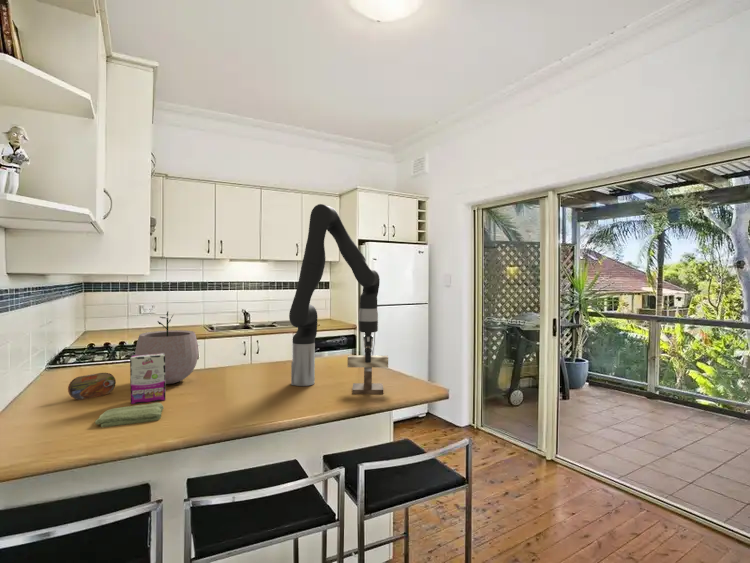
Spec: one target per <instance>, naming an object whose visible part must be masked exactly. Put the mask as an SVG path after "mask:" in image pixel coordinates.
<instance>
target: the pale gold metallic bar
mask: <svg viewBox="0 0 750 563" xmlns="http://www.w3.org/2000/svg"><path fill="white" fill-rule="evenodd" d="M364 367H372V368H377V369H378V368H385V369H386V368H389V355H376V354H375V355H374V354H373V355H371V362H370V363H366V362H365V354H364V355H363V354H362V355H355V354H354V355H347V368H364Z"/></svg>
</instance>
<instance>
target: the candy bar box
mask: <svg viewBox="0 0 750 563" xmlns="http://www.w3.org/2000/svg"><path fill="white" fill-rule="evenodd" d="M129 364H130V365H129V369H130V372H129V373H130V374H129V375H130V378H129V379H130V381H129V382H130V400H129V401H130V404H131V405H136V404H145V403H155V402H160V401H166V384H165V353H163V354H150V355H137V356H135V355H131V356H130V357H129Z"/></svg>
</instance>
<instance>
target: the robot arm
mask: <svg viewBox="0 0 750 563" xmlns="http://www.w3.org/2000/svg"><path fill="white" fill-rule="evenodd" d="M327 232H328V233H329V234H330V235H331V236H332V238H333V239H334V241H335V242H336V245H337V247H338V250H339V252H340V254H341V256H342V258H343V259H344V260H345V262H346V264H347V265H348V266H349V267H350V269H351V271H352V274H353V276H354V277H355V279H356V282H358V284H359V285H360V286H362V293H361V294H360V295H359V310H358V311H359V312H358V332H360V333H364V335H363V336H362V337H363V339H362V340H363V341H362V342H363V348H364V353H365V354H364V355H365V362H366V363H370V362H371V354H372V352H373V350H372V348H373V346H374V345H373V342H374V336H373V335H372V333H377V332H378V330H379V328H378V327H379V324H378V323H379V322H378V321H379V312H378V294H379V288H380V275H379V273H378V272H377V270H374V269H370V267H369V265H368V264H367V263H366V258H365V256H364V254H363V253H362V252H361V250H360V249H359V247H358V246H357V245H356V243H355V241H353V239H352V238H351V235H350V234H349V233H348V231H347V229H346V227H345V226H344V224H343V222H342V219H341V218H340V216H339V213H338V211H337V210H336V209H335V208H334V207H332V206H329V205H326V204H323V203H322V204H321V203H319V204H317V205H314V207H313V208H312V209H311V211H310V216H309V225H308V234H307V239H306V245H305V249H304V252H303V258H302V262H301V268H300V272H299V277H298V282H297V286H296V289H295V290H296V291H295V295H294V297H293V301H292V304H291V307H290V308H289V315H288V316H289V318H288V319H289V322H290V324H291V325H292V326H293V327H294V328H297V331H295V332H296V333H295V334H294V335H293V336H292V361H291V365H290V366H291V367H290V368H291V372H290V374H291V375H290V377H291V378H290V379H291V380H290V381H291V383H290V385H291V386H297V387H308V386H312V385H315V379H316V378H315V372H316V370H315V368H316V364H315V362H316V361H315V359H316V356H315V355H316V348H315V347H316V343H315V342H316V341H315V340H316V337H317V334H318V311H317V308H316V307H315V306H314V305H312V304H310V303H311V299H312V296H313V294H314V292H315V290H316V288H317V287H318V285H319V283H320V282H321V280H322V277H323V276H324V275H323V274H324V272H325V271H324V270H325V265H326V249H325V239H326V234H327Z"/></svg>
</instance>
